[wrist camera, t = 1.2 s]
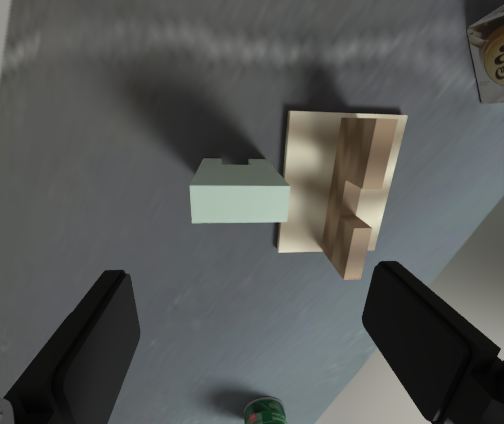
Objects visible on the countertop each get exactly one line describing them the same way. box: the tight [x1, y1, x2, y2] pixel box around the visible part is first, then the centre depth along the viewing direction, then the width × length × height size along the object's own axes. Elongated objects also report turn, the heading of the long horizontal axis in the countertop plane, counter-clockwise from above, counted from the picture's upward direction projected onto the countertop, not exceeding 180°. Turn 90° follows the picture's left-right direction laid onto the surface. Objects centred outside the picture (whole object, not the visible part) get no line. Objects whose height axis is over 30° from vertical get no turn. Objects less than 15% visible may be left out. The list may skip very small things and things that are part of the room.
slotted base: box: [277, 111, 408, 280], centre depth 28 cm, size 18×14×8 cm
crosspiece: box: [190, 158, 290, 223], centre depth 24 cm, size 3×8×12 cm, turn 88°
